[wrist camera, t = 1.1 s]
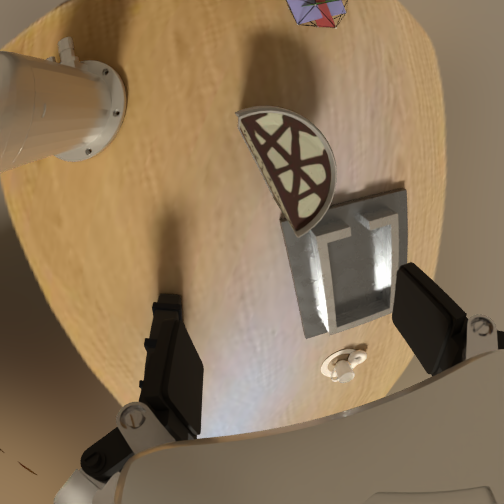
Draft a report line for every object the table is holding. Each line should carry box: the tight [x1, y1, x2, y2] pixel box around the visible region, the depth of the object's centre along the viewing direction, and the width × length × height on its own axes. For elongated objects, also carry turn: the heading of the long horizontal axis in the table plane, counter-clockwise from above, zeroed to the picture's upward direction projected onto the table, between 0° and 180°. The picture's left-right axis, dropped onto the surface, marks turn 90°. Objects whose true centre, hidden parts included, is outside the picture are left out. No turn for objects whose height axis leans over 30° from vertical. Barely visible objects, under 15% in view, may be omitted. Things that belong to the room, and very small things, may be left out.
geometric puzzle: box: [286, 0, 348, 28], centre depth 19 cm, size 7×7×8 cm
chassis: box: [280, 188, 408, 339], centre depth 36 cm, size 20×18×4 cm
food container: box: [235, 106, 337, 238], centre depth 25 cm, size 12×6×10 cm, turn 26°
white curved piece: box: [321, 349, 367, 383], centre depth 46 cm, size 9×8×4 cm
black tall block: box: [139, 294, 182, 389], centre depth 34 cm, size 4×13×15 cm, turn 173°
